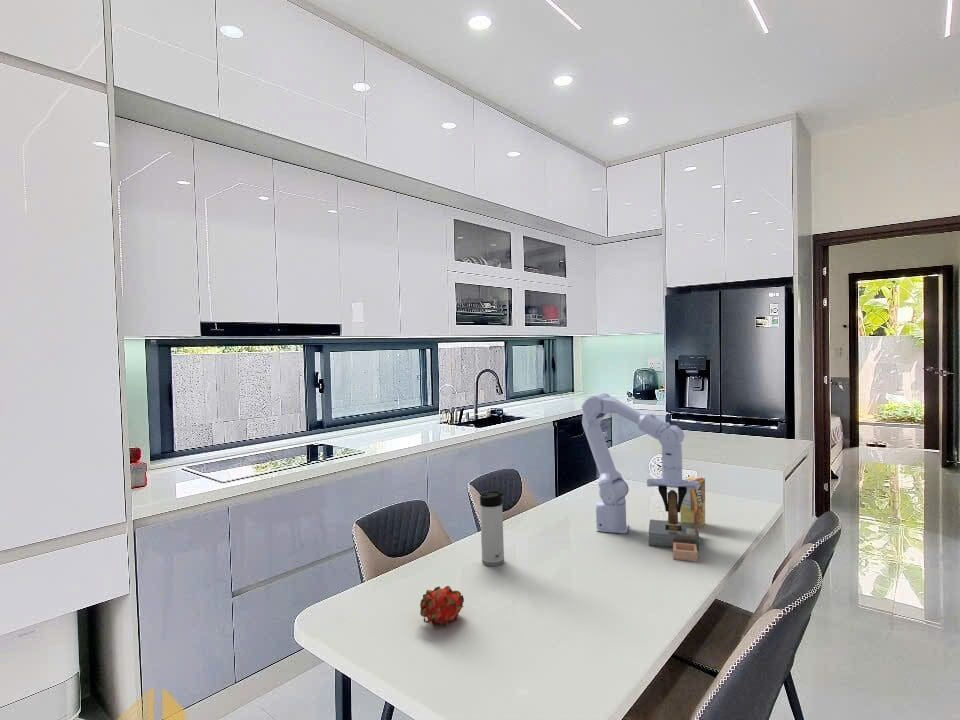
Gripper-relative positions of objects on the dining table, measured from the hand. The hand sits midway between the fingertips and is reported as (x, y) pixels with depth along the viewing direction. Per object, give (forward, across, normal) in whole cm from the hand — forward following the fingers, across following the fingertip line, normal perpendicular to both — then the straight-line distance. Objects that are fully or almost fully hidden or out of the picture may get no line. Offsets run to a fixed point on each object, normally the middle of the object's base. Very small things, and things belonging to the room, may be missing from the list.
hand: (672, 510), depth 162 cm
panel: (+9, 0, 0) cm, 9 cm away
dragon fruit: (+10, -49, -62) cm, 80 cm away
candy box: (+9, +6, +15) cm, 19 cm away
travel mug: (+10, -48, -29) cm, 57 cm away
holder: (+9, +3, -11) cm, 15 cm away
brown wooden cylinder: (+3, 0, 0) cm, 4 cm away
